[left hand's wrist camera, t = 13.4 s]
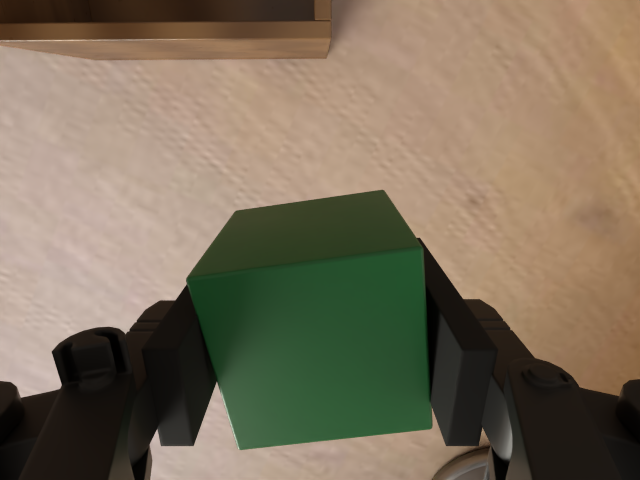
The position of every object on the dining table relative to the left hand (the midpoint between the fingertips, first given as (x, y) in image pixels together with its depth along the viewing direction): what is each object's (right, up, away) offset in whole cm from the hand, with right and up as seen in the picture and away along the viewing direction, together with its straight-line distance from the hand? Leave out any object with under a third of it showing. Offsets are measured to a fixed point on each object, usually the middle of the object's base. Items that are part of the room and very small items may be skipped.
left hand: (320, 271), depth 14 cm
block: (0, 0, 0) cm, 0 cm away
